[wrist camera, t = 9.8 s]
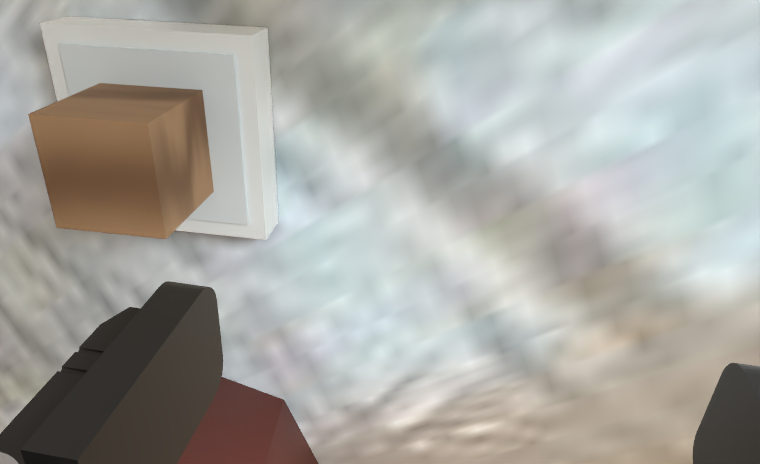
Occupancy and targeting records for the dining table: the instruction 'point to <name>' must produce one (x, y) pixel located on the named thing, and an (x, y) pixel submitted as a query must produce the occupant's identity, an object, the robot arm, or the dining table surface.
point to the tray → (189, 71)
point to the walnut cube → (125, 158)
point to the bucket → (247, 430)
